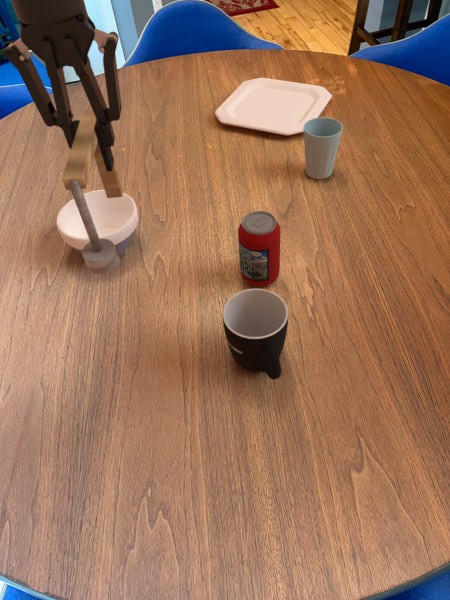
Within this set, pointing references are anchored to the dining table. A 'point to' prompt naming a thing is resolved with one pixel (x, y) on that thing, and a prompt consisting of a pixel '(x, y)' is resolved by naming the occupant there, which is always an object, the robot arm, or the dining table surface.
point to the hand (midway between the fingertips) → (99, 166)
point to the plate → (273, 105)
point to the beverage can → (259, 248)
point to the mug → (256, 330)
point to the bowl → (100, 220)
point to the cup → (321, 146)
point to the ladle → (75, 178)
